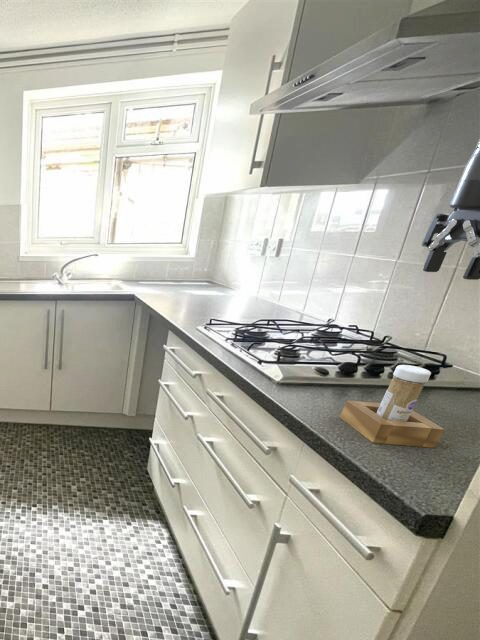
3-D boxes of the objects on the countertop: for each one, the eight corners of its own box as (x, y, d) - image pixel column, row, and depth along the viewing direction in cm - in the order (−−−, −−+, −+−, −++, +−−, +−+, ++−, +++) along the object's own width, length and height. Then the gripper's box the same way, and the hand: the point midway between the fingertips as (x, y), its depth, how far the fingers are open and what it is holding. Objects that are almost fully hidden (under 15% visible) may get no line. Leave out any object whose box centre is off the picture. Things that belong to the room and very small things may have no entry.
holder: (394, 421, 85) (402, 404, 84) (434, 448, 76) (445, 429, 75) (339, 417, 87) (346, 400, 85) (372, 442, 78) (381, 424, 76)
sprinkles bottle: (395, 440, 79) (427, 375, 73) (364, 429, 82) (393, 366, 77) (403, 433, 81) (435, 369, 75) (373, 423, 84) (402, 362, 79)
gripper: (568, 174, 63) (512, 282, 70) (479, 178, 76) (439, 269, 82) (509, 176, 64) (460, 282, 71) (431, 179, 77) (396, 269, 84)
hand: (449, 275), depth 77 cm, fingers open, 8 cm apart
